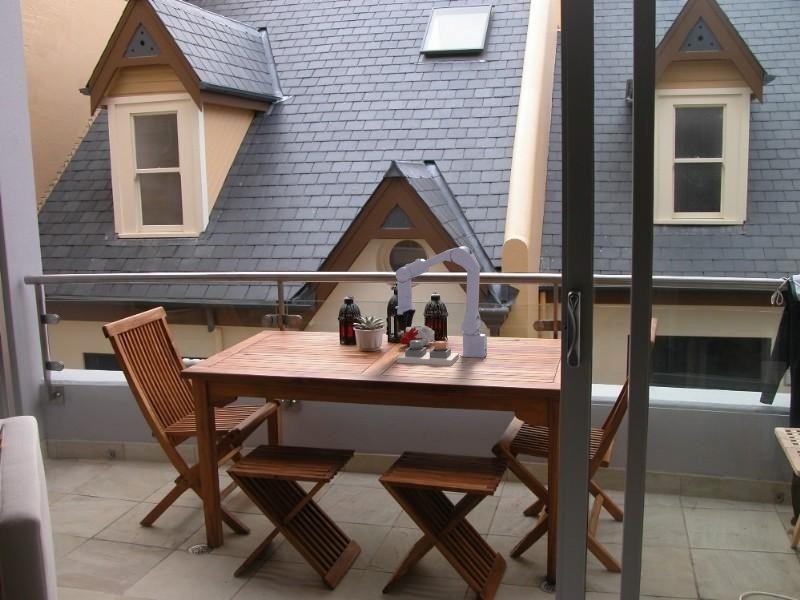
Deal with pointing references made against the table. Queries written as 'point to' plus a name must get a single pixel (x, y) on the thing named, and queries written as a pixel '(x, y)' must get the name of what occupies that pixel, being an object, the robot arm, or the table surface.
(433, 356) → the button panel
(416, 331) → the white red irregular piece
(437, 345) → the terracotta button
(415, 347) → the grey low dome
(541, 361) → the table surface
